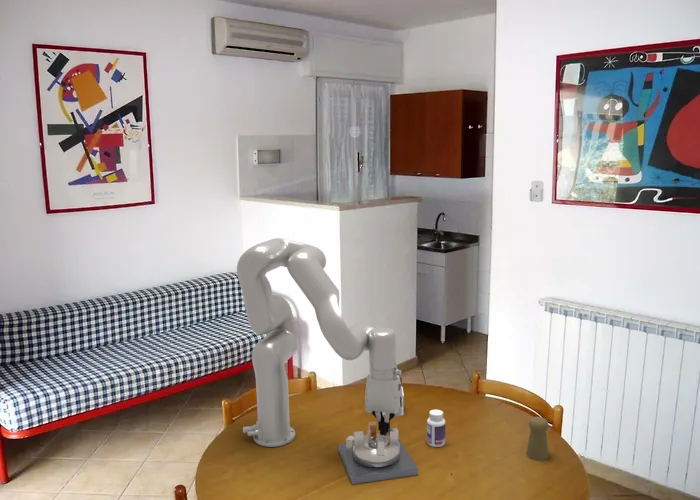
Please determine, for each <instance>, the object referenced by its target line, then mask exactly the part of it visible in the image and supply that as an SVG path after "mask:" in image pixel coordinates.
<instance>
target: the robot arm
mask: <svg viewBox="0 0 700 500" xmlns="http://www.w3.org/2000/svg"><path fill="white" fill-rule="evenodd" d="M326 263H327V259H326V255H325V254H324V252H323V251H322V250H321V249H320V248H319V247H317V246H314V245H311V244H307V243H303V242H298V241H294V240H290V239H286V238H280V237H277V238H270V239H269V240H267V241H262V242H260V243H257V244H255V245H253V246H251V247H249V248H247V250H246V251H244V252H243V253H242V254H241V256H240V257H239V259H238V261H237V265H236V274H237V278H238V282H239V285H240V289H241V292H242V298H243V302H244V308H245V312H246V316H247V320H248V325H249V327H250V329H251V330H252V331H253V333H255V334H256V335H257V334H258V335H266V334H268V335H266V336H264V338H262V339H260V340H259V341H258V342H257V343H256V344H255V346H254V347H253V350H252V353H251V361H252V366H253V371H254V376H255V377H254V378H255V389H256V390H255V391H256V409H257V420H256V421H255V422H256V424H253V425H251V426H249V425H248V426H242V433H243V434H247V437H250V436H252V437H253V441H254V442H255V443H256V444H257V445H259V446H262V447H266V448H267V447H268V448H272V447H273V448H275V447H276V448H277V447H281V446H284V445H287V444H290V442H292V441H293V440H294V439H295V437H296V431H295V429H294V428H293V427H292V426H290V424H291V423H290V401H289V399H290V398H289V378H288V374H287V372H286V368H285V364H286V362H287V361H288V360H290V359H291V357H293V356H294V355H295V354H296V352H298V351H297V350H298V348H299V338H298V332H297V327H296V323H295V320H294V314H293V310H292V308H291V306H290V304H289V301H288V300H287V299H285V298H284V297H283V296H282V295H278V294H273V290H272V286H271V283H270V281H269V279H268V278H267V276H266V274H267V273H268V272H270V271H274V270H275V269H278V268H280V267H284V268H286V269H287V272H288V273H289V275H290V277H291V278H292V279H293V281H294V282H295V284H296V285H297V286H298V287H299V288H300V289H299V290H301V291H302V293H303V294H304V296H305V298H307V300H308V301H309V302H310V304H311V306H312V307H313V310H314V313H315V317H316V320H317V323H318V325H319V328H320V331H321V334H322V335H323V337H324V339H325V340H326V341H327V344H329V345H330V347H331V349H333V351H334V352H335V354H337V355H338V356H339V357H340V358H341V359H343V360H346V361H353V360H356V359H358V358H359V357H360V356H361V355H362V354H363V353H364V352H366V351H368V362H369V365H368V367H369V371H368V372H369V373H368V375H367V378H366V385H365V392H364V396H365V397H364V405H365V412H366V413H369V414H371V415H372V416H373V417H374V418H375V419H376V421H377V424H378V426H377V427H378V428H377V429H378V431H379V434H380V435H384V436H386V435H388V429H390V428H391V420H392V419H393V418H400V417H401V418H402V416H403V415H402V414H403V413H402V409H401V407H402V406H403V395H402V387H403V386H402V387H401V381H400V377H401V375H402V369H398V366H397V339H396V338H397V336H396V332H395V331H394V330H393V329H392V328H390V327H375V326H371V325H367V324H363V323H355V324H353V325H351V326H350V327H348V325H347V323H346V322H345V320H344V318H343V316H342V314H341V311H340V291H339V288H338V287H337V286H336V284H335V283H334V282H333V281H332V279H331V278H330V276H329V275H328V273H327V272H326V271H325V268H326ZM399 376H400V377H399ZM383 412H385V415H383Z"/></svg>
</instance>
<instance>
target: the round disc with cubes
mask: <svg viewBox="0 0 700 500" xmlns="http://www.w3.org/2000/svg"><path fill="white" fill-rule="evenodd" d="M377 427H378V426H377V423H376V421H374V420H373V421H372V420H371V421H368V430H366V434H364V432H363V431H362V430H361V431H360V430H359V431H353V436H354V442H353V457H354V459H355V460H356V461H357V462H358V463H360V464H362V465H365V466H369V467H385V466H389V465H391V464H393V463H395V462H396V461H397V460H398V459H399V457H400V444H399V442H398V438H399V429H398V428H397V427H392V428H391V427H390V429H388V433H387V435H386V436H384V435H380V433H378V432H377V429H378V428H377Z"/></svg>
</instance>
